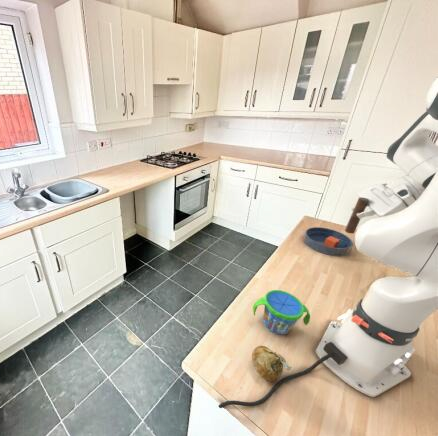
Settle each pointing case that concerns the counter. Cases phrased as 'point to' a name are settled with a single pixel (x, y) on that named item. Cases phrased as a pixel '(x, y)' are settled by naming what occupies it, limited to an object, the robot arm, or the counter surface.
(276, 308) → the snack cup
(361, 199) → the stick
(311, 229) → the bowl
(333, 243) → the block
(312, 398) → the counter surface
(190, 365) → the counter surface
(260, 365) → the onion
